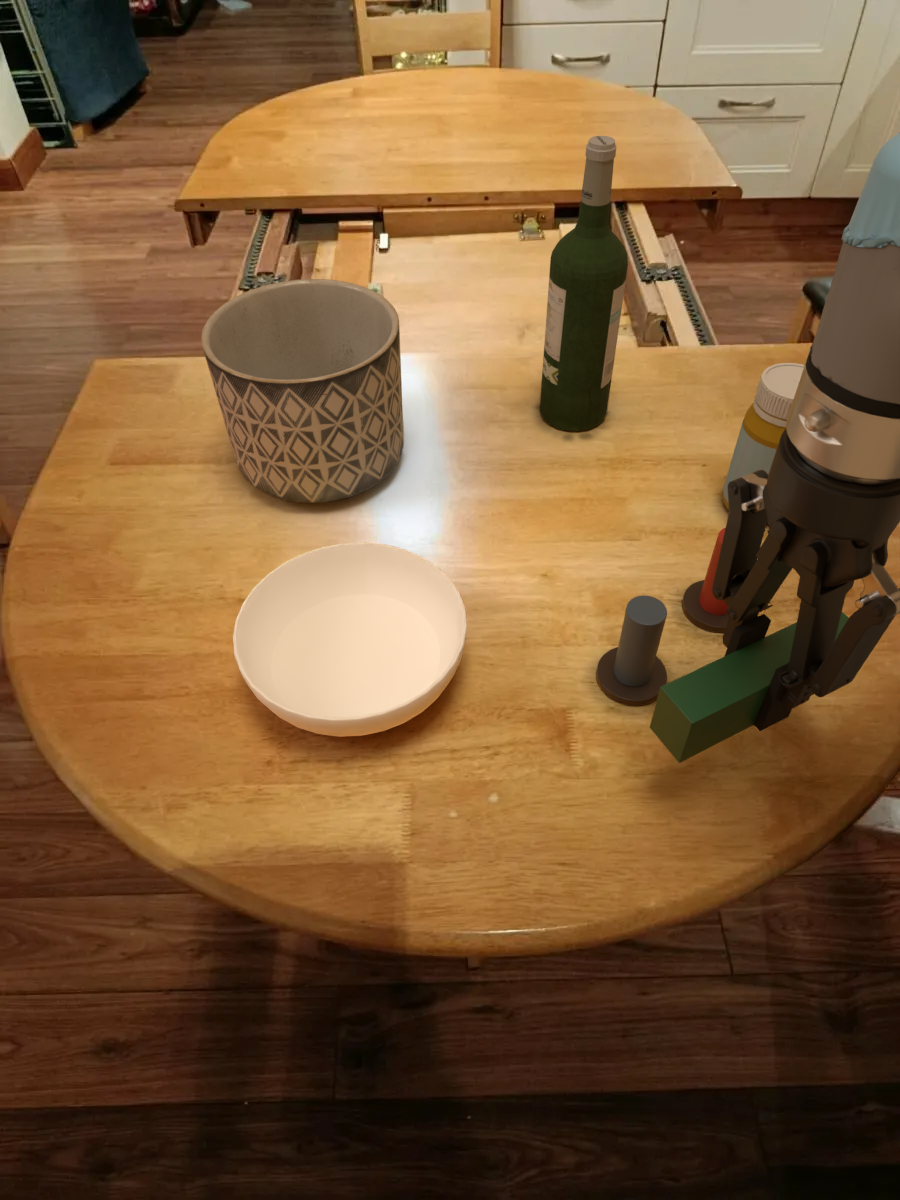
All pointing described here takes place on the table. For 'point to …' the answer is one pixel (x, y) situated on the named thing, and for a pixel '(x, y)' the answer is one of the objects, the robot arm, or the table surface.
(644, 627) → the grey cylinder on disc
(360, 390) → the planter
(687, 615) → the red peg on stand
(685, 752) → the green bar
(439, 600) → the bowl
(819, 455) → the robot arm
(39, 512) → the table surface
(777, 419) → the bottle
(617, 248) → the wine bottle
